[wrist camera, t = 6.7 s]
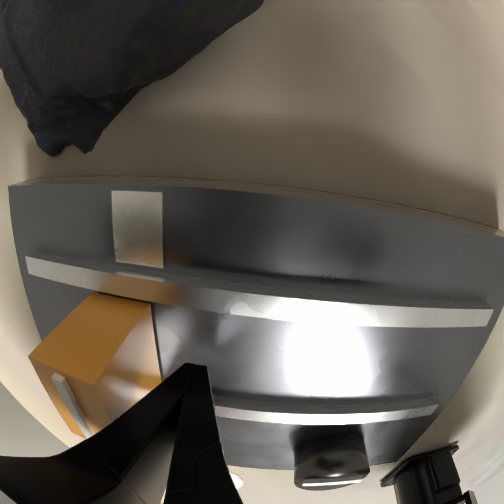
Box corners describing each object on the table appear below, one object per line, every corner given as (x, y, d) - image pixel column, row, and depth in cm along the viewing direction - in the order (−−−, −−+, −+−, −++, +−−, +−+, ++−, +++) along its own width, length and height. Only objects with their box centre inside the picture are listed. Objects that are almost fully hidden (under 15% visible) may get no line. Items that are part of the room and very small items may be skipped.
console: (391, 440, 15) (402, 486, 11) (93, 405, 16) (70, 446, 12) (499, 229, 9) (558, 264, 5) (37, 178, 10) (-31, 198, 6)
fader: (161, 381, 10) (127, 460, 7) (111, 367, 11) (69, 435, 7) (150, 303, 9) (90, 390, 5) (92, 292, 9) (24, 360, 5)
